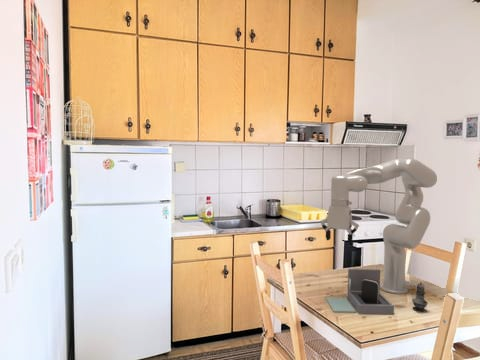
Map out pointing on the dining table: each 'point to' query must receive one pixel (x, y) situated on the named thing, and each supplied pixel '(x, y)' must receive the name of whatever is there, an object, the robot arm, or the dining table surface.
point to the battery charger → (370, 291)
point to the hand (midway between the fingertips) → (338, 241)
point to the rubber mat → (340, 305)
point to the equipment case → (355, 292)
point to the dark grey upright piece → (420, 299)
